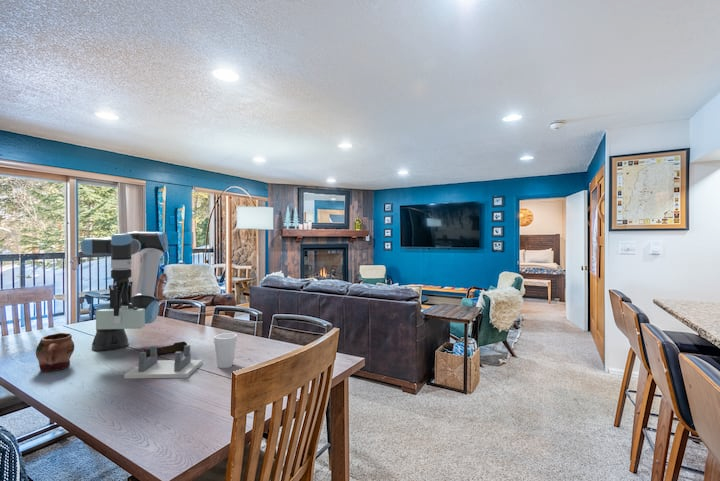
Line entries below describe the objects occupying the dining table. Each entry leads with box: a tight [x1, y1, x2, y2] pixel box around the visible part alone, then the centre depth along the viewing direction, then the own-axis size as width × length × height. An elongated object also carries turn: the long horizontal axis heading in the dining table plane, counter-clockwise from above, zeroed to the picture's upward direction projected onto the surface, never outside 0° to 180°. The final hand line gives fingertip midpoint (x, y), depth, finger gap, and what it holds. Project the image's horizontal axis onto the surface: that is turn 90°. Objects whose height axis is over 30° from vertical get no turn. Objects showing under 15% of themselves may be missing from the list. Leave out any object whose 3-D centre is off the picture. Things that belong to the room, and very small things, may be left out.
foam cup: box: [213, 332, 238, 369], centre depth 153 cm, size 10×9×13 cm
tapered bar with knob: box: [95, 307, 146, 330], centre depth 155 cm, size 4×18×9 cm, turn 98°
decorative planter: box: [35, 332, 75, 373], centre depth 146 cm, size 20×12×14 cm, turn 36°
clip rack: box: [123, 344, 203, 379], centre depth 147 cm, size 16×24×9 cm, turn 94°
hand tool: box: [142, 341, 188, 358], centre depth 168 cm, size 19×4×5 cm, turn 127°
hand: (120, 321), depth 155 cm, fingers closed on tapered bar with knob, 4 cm apart
